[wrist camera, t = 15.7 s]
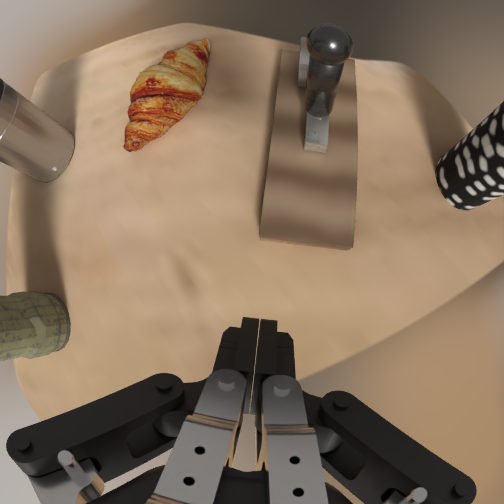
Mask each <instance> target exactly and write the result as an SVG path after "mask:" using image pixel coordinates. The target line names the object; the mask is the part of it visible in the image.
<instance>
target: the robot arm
mask: <svg viewBox="0 0 504 504" xmlns="http://www.w3.org/2000/svg"><path fill="white" fill-rule="evenodd" d="M73 150H74V138H73V136H72V134H71V133H70V132H69V131H68V130H67V129H65V128H64V127H63V126H61V125H60V124H59V123H57V122H56V121H55V120H54V119H52V118H51V117H50V116H48V115H47V114H46V113H44V112H43V111H42V110H41V109H39V108H38V107H37V106H35V105H34V104H33V103H31V102H30V101H29V100H27V99H26V98H25V97H24V96H22V95H21V94H20V93H18V92H17V91H16V90H14V89H13V88H12V87H11V86H9V85H8V84H7V83H5V82H4V81H3V80H2V79H0V162H2V163H4V164H6V165H9V166H11V167H13V168H15V169H17V170H19V171H21V172H23V173H25V174H27V175H29V176H31V177H33V178H35V179H37V180H40V181H42V182H49V181H52V180H54V179H55V178H57V177H58V176H59V175H60V174H61V173H62V172H63V171H64V170H65V168H66V167H67V165H68V164H69V161H70V159H71V157H72V154H73ZM258 327H259V319H257V318H248V317H243V319H242V325H241V328H237V327H229V328H228V329H227V330H226V331H224V332H223V335H222V339H221V342H220V346H219V349H218V353H217V357H216V360H215V364H214V368H213V371H212V373H211V374H210V375H209V377H207V378H206V379H204V380H202V381H199V382H193V383H183V382H182V380H181V379H180V378H179V377H177V376H175V375H173V374H169V373H159V374H155V375H153V376H151V377H149V378H146V379H144V380H142V381H140V382H137V383H135V384H133V385H131V386H128V387H126V388H124V389H122V390H119V391H117V392H115V393H112V394H110V395H108V396H105V397H103V398H100V399H98V400H96V401H93V402H91V403H88V404H86V405H83V406H81V407H78V408H76V409H73V410H71V411H68V412H66V413H63V414H60V415H58V416H55V417H52V418H50V419H47V420H44V421H41V422H39V423H36V424H33V425H30V426H27V427H24V428H22V429H19V430H16V431H14V432H13V433H12V434H11V435H10V436H9V438H8V440H7V444H6V448H7V452H8V454H9V455H10V457H11V458H12V459H13V460H14V462H15V463H16V464H17V465H18V466H19V467H20V468H21V469H22V471H23V472H24V473H25V474H26V475H27V476H28V477H29V479H30V481H31V483H32V486H33V488H34V490H35V492H36V494H37V496H38V498H39V500H40V502H41V504H353V503H352V502H351V501H349V500H348V499H347V498H346V497H345V496H344V495H343V494H342V493H341V492H340V491H338V490H337V489H336V488H334V487H333V486H332V485H330V484H328V483H326V482H325V481H324V476H323V470H322V467H323V468H324V469H325V470H326V471H327V472H328V473H330V474H331V475H332V476H333V477H334V478H335V479H336V480H337V481H338V482H340V483H341V484H342V485H343V486H344V487H345V488H346V489H348V490H349V491H350V492H351V493H352V494H354V495H355V496H356V497H357V498H358V499H360V500H361V501H362V502H363V503H364V504H471V503H472V502H473V500H474V499H475V496H476V485H475V483H474V481H473V480H472V479H471V478H470V477H469V476H467V475H466V474H464V473H463V472H461V471H459V470H458V469H456V468H455V467H453V466H452V465H450V464H449V463H447V462H446V461H444V460H443V459H441V458H440V457H438V456H437V455H435V454H434V453H432V452H430V451H429V450H428V449H426V448H425V447H424V446H422V445H421V444H419V443H418V442H416V441H415V440H413V439H412V438H411V437H409V436H408V435H406V434H405V433H403V432H402V431H401V430H399V429H398V428H396V427H395V426H394V425H392V424H391V423H390V422H388V421H386V420H385V419H384V418H383V417H381V416H380V415H379V414H377V413H376V412H374V411H373V410H372V409H371V408H369V407H368V406H366V405H365V404H364V403H363V402H361V401H360V400H358V399H357V398H356V397H355V396H353V395H351V394H350V393H347V392H344V391H332V392H329V393H327V394H326V395H325V396H324V397H323V398H320V397H317V396H314V395H310V394H308V393H306V392H304V391H303V390H302V388H301V385H300V384H299V382H298V381H297V380H296V375H295V359H294V344H293V339H292V338H291V336H290V335H289V334H288V333H284V332H277V321H276V320H266V319H261V321H260V330H259V338H258V346H257V337H258ZM256 347H257V355H256ZM255 356H256V364H255ZM254 366H255V374H254ZM253 375H254V384H253V393H252V402H251V412H250V414H253V415H255V427H256V430H255V451H256V452H255V453H256V455H255V457H256V470H255V471H252V472H242V471H240V470H236V469H234V468H232V467H233V463H234V458H235V454H236V450H237V446H238V442H239V437H240V434H241V429H242V421H243V413H245V414H249V406H250V399H251V391H252V383H253ZM171 448H173V449H172V451H171V454H170V456H169V458H168V461H167V463H166V465H163V466H159V467H156V468H153V469H151V470H148V471H146V472H145V473H143V474H141V475H140V476H138V477H136V478H134V479H132V480H131V481H129V482H127V483H125V484H123V485H121V486H120V487H118V488H116V489H114V490H112V491H110V492H108V493H106V494H104V495H102V493H103V491H104V483H105V482H107V481H110V480H112V479H114V478H116V477H118V476H120V475H122V474H124V473H126V472H128V471H130V470H132V469H134V468H136V467H138V466H140V465H142V464H144V463H146V462H148V461H149V460H151V459H153V458H155V457H157V456H158V455H160V454H162V453H164V452H166V451H167V450H169V449H171ZM101 495H102V496H101Z"/></svg>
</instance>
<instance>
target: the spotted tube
mask: <svg viewBox="0 0 504 504" xmlns="http://www.w3.org/2000/svg"><path fill="white" fill-rule="evenodd" d="M436 178H437V183H438V186H439V188H440V190H441V193H442V194H443V196H444V197H445V199H446V200H447V201H448V202H449V203H450V204H451V205H453V206H454V207H456V208H458V209H461V210H471V209H473V208H475V207H478V206H480V205H482V204H484V203H486V202H489V201H491V200H493V199H495V198H497V197H499V196H502V195H504V102H503V103H501V104H500V105H499V106H498V107H497V108H496V109H495V110H494V111H493V112H492V113H491V114H490V115H489V116H487V117H486V118H485V119H484V120H483V121H482V122H481V123H480V124H479V125H478V126H477V127H475V128H474V129H473V130H472V131H471V132H470V133H469V134H468V135H466V136H465V137H464V138H463V139H462V140H461V141H460V142H459V143H457V144H456V145H455V146H454V147H453V148H452V149H451V150H449V151H448V152H447V153H446V154H445V155H444V156H442V157H441V158H440V160H439V161H438V164H437V168H436Z"/></svg>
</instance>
